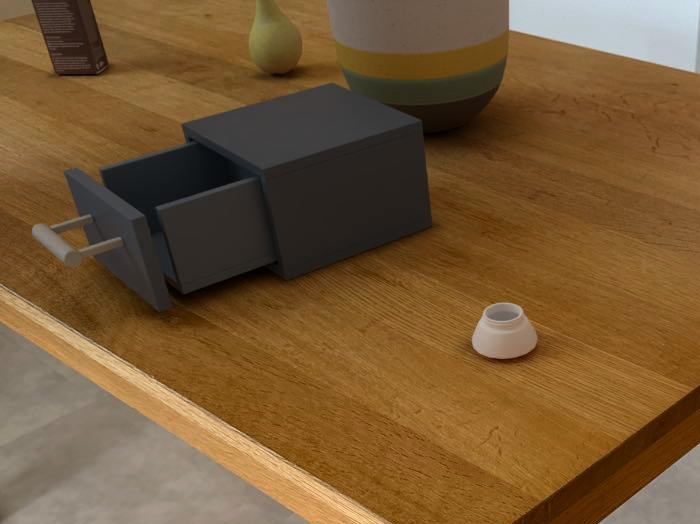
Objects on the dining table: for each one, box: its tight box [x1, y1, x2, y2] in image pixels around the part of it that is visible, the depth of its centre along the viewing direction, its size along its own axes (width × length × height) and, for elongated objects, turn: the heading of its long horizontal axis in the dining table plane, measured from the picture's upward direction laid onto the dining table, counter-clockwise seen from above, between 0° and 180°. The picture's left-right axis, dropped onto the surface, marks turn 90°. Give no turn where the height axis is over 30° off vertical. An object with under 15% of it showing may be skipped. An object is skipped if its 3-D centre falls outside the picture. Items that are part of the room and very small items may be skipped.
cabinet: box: [180, 82, 433, 281], centre depth 92 cm, size 16×15×10 cm
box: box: [30, 0, 110, 75], centre depth 131 cm, size 6×4×12 cm
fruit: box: [248, 0, 303, 75], centre depth 127 cm, size 7×8×12 cm
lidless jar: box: [471, 302, 538, 360], centre depth 77 cm, size 5×3×5 cm
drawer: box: [31, 140, 278, 313], centre depth 86 cm, size 20×14×8 cm
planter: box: [325, 0, 510, 134], centre depth 109 cm, size 20×20×21 cm
